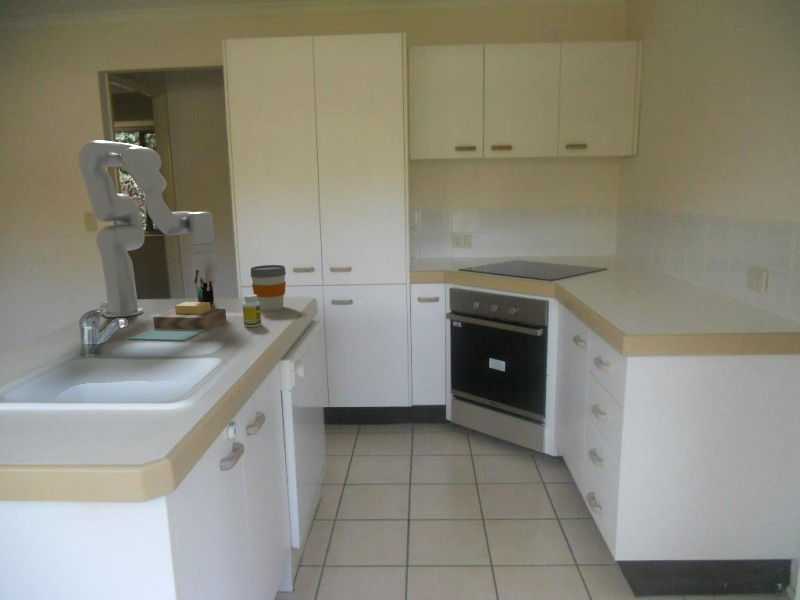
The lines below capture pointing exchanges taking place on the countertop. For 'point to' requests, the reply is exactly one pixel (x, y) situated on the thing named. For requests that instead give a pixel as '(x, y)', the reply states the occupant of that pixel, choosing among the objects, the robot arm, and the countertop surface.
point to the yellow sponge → (193, 307)
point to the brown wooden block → (189, 319)
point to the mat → (168, 334)
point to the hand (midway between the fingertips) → (208, 301)
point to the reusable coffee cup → (269, 286)
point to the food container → (200, 294)
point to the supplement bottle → (251, 311)
